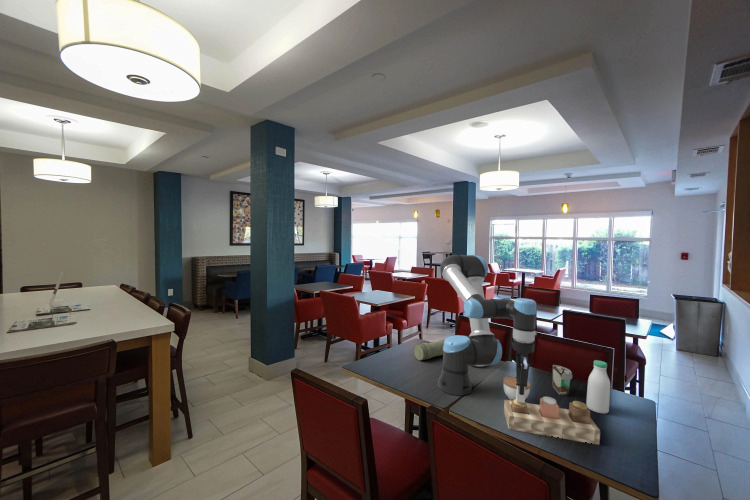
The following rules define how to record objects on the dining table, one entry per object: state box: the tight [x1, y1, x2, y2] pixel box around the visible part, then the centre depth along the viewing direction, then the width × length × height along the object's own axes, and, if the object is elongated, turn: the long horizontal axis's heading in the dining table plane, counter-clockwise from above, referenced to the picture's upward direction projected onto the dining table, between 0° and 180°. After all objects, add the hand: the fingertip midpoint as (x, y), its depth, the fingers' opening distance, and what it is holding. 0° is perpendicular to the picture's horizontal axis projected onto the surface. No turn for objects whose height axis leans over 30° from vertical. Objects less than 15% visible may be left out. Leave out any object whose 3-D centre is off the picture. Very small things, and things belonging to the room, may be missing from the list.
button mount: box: [503, 399, 601, 446], centre depth 118 cm, size 29×12×5 cm, turn 75°
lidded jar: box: [502, 375, 531, 401], centre depth 138 cm, size 11×11×9 cm
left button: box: [511, 399, 528, 414], centre depth 120 cm, size 5×5×6 cm
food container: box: [552, 364, 573, 397], centre depth 147 cm, size 12×6×10 cm, turn 168°
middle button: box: [539, 396, 560, 419], centre depth 118 cm, size 5×5×6 cm
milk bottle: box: [585, 359, 611, 414], centre depth 132 cm, size 8×8×20 cm
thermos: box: [413, 338, 446, 361], centre depth 187 cm, size 9×12×35 cm
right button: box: [568, 400, 591, 424], centre depth 115 cm, size 5×5×6 cm
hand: (520, 401), depth 120 cm, fingers closed
